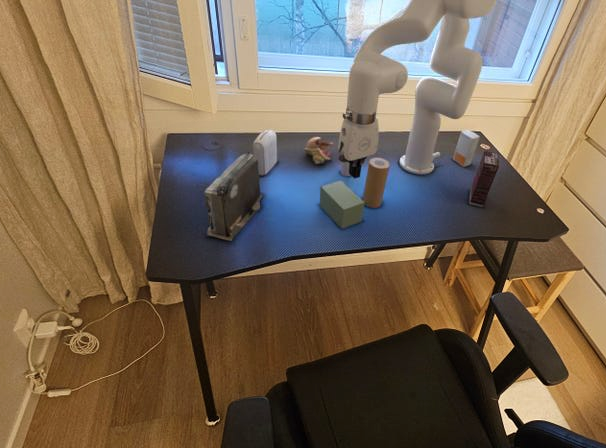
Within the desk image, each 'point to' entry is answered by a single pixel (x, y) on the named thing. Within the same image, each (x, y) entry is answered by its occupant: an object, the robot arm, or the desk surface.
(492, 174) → the supplement box
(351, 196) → the green block
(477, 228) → the desk surface
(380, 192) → the paper roll
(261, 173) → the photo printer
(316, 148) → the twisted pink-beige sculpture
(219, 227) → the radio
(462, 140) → the cosmetic box
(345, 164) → the smoothie
